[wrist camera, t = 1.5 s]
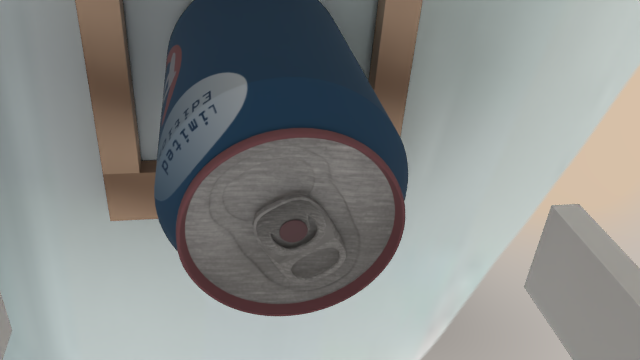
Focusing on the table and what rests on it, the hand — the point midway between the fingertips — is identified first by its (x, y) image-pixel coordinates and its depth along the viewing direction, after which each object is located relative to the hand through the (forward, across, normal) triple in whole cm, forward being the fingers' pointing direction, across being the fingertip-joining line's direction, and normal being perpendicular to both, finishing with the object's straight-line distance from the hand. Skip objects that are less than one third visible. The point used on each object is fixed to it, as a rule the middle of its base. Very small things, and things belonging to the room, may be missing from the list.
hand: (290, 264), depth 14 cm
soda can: (+13, 0, 0) cm, 13 cm away
